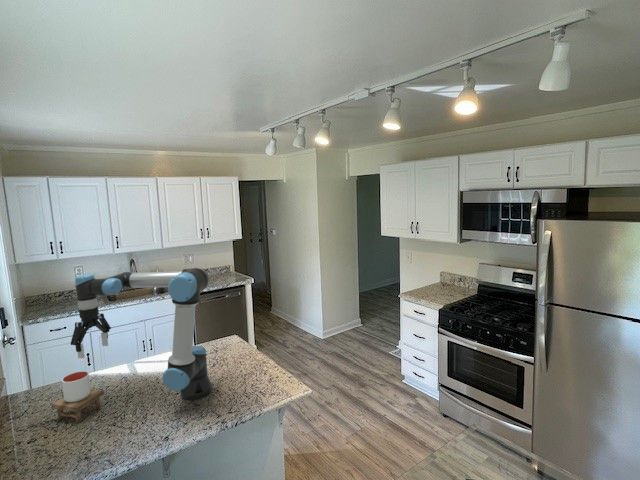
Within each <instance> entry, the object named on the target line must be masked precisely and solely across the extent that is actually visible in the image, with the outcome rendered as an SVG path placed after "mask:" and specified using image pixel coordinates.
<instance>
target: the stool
mask: <svg viewBox="0 0 640 480" xmlns="http://www.w3.org/2000/svg"><path fill="white" fill-rule="evenodd" d="M104 394H105V392H104V390H103V389H100V390H99V389H93V388H90V394H89V395H88V396H87V397H86V398H84V399H82V400H80V401H76V402H66V401H65V400H64V396H63V397H61V398H60V399H58V400H56V401H54V402H53V403H51V409H53V410H56V412H57V420H58V421H62V420H64V418H66V417H68V418H72V419H73V418H74V419H75V422H76V424H78V423H81V422H82V420H83V419H82V413H81V412H82V411H81V410H82V409H84V408H85V407H87V406H88V405H91V406H94V407H95V410H96V411H97V410H100V409H101V408H102V407H101V400H100V399H101V397H103V396H104ZM64 411H69V412H64ZM72 412H73V413H72Z"/></svg>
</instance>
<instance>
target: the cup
mask: <svg viewBox="0 0 640 480" xmlns="http://www.w3.org/2000/svg"><path fill="white" fill-rule="evenodd" d="M61 386H62V392H63V394H62V395H63V397H64V400H65V401H66V402H76V401H80V400H82V399H84V398H86V397H87V396H88V395H89V394H90V389H91V384H90V374H89V372H88V371H77V372H72V373H70V374H67V375H66V376H64V377H63V378H62V379H61Z"/></svg>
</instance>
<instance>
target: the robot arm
mask: <svg viewBox="0 0 640 480" xmlns="http://www.w3.org/2000/svg"><path fill="white" fill-rule="evenodd" d="M209 280H210V279H209V276H208V274H207V272H206V271H205V270H204V269H202V268H199V267H193V268H183V269H181V271H180V270H179V271H178V270H177V271H173V270H172V271H148V272H147V271H146V272H145V271H144V272H143V271H142V272H133V271H124V272H122V273H119V274H116V275H112V276H109V277H105V278H96V277H95V274H91V273H88V274H86V273H85V274H81V275H77V276H76V277H75V281H74V282H75V283H74V284H75V285H74V287H75V291H76V297H77V306H78V309H79V310H78V314H79V315H78V316H79V318H80V319H81V320H80V321H79V322H78V321H76V322H75V323H74V330H73V332H72V333H73V334H72V335H71V337H72V338H71V341H70V345H71V346H75V351H76V353H77V358H78V359H85V351H84V344H83V343H82V342H83V340H84V338H85V336H86V334H87V332H88V331H89V329H91V328H93V327H95V328H97V329H98V330H99V331H101V333H100V336H101V344H102V345H101V346H102V347H108V346H109V339H108V338H109V334H108V333H109V332H110V330H111V329H112V326H110V324H109V323H108V320H107V319H106V318H105V315H104V313H100V312H99V307H98V297H97V296H112V295H113V296H114V295H118V294H120V292H121V291H122V290H124V289H136V288H137V289H138V288H139V289H141V288H142V289H144V288H145V289H147V288H167V290H168V291H167V292H168V294H169V296H170V298H171V302H172V304H173V305H174V306H175V308H174V309H175V310H174V322H173V333H172V334H173V335H172V336H173V338H172V348H171V349H172V352H171V355H170V356H169V357H168V358H167V368H166V370H164V373H163V374H162V382H163V384H164V386H165V387H166V388H167V389H169V391H174V392H179V393H180V395H179V396H180V397H181V399H184V400H189V401H192V400H198V399H199V400H200V399H202V398H205V397H206V396H208V395H209V394H210V393H212V390H213V385H212V381H211V379H210V377H209V375H208V364H207V363H208V362H207V361H208V360H207V351H206V348H205V347H204V346H202V345H194V335H195V333H194V332H195V319H196V306H197V305H199V303H200V301H201V300H200V299H201V292H203V291H204V290H205V289H206V288H207V287H208V285H209Z"/></svg>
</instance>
